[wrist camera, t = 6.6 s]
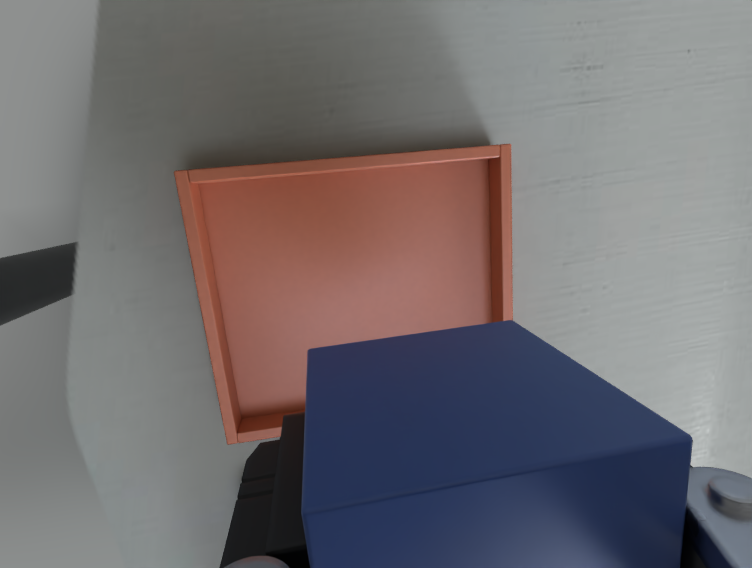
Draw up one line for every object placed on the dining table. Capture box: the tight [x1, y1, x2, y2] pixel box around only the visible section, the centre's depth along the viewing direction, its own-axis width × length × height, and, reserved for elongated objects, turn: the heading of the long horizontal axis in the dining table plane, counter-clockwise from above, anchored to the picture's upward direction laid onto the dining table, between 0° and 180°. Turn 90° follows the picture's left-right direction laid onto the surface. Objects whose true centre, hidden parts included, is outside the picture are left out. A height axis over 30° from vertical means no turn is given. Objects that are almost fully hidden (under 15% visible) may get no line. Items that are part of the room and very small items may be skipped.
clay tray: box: [174, 144, 513, 445], centre depth 22 cm, size 16×14×2 cm
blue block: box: [301, 320, 693, 568], centre depth 7 cm, size 5×5×5 cm
